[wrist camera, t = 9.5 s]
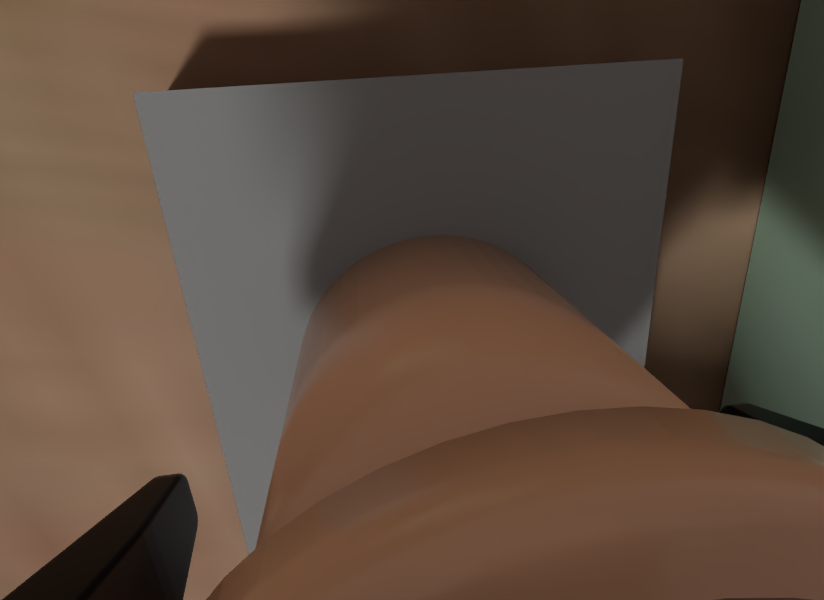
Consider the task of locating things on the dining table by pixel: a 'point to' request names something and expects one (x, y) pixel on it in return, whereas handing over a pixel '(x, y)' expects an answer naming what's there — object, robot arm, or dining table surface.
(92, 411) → the dining table surface
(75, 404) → the dining table surface
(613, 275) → the rubber mat
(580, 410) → the terracotta pot
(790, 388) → the cold frame
